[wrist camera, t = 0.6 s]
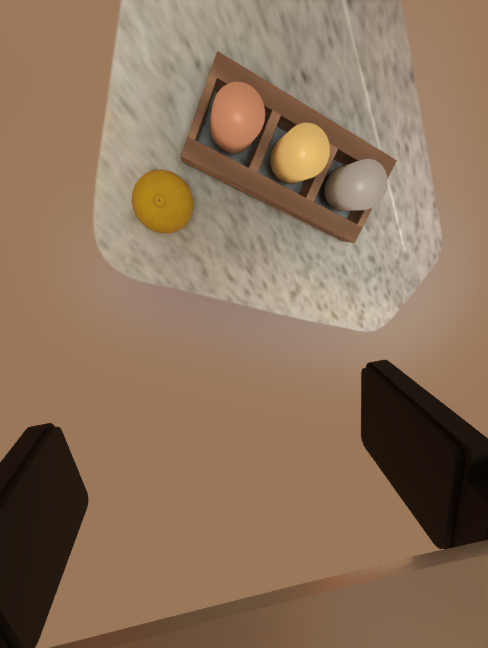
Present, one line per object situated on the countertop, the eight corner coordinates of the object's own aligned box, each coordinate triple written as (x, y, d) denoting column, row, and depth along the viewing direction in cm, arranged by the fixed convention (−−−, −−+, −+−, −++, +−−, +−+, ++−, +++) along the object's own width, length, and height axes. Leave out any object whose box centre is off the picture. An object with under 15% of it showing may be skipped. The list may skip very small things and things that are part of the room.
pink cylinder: (220, 91, 29) (224, 70, 25) (262, 115, 30) (273, 99, 26) (202, 139, 30) (204, 127, 26) (244, 161, 31) (252, 153, 27)
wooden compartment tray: (215, 66, 30) (217, 51, 27) (380, 165, 35) (396, 160, 33) (181, 161, 32) (180, 156, 29) (342, 241, 38) (354, 242, 35)
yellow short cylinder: (281, 126, 31) (295, 112, 27) (319, 148, 32) (338, 138, 28) (263, 171, 32) (273, 164, 28) (300, 191, 33) (315, 187, 29)
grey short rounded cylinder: (336, 158, 32) (357, 149, 28) (371, 177, 34) (395, 172, 30) (317, 200, 34) (334, 197, 29) (351, 217, 35) (372, 217, 31)
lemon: (204, 205, 34) (207, 202, 26) (168, 242, 35) (161, 249, 27) (165, 163, 32) (156, 146, 25) (128, 202, 33) (108, 198, 25)
